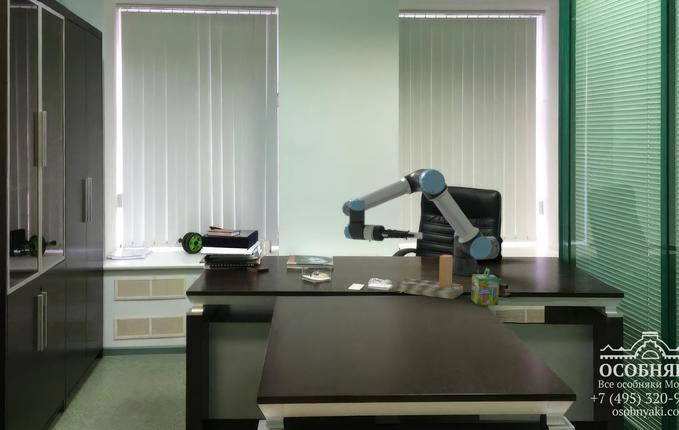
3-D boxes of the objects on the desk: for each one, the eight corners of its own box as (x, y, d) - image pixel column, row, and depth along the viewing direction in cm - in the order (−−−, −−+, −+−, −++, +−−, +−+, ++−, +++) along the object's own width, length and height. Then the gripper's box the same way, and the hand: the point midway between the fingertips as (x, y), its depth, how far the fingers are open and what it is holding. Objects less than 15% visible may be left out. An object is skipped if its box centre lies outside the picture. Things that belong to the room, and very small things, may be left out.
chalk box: (470, 300, 250) (471, 266, 249) (491, 300, 251) (492, 266, 250) (477, 305, 241) (478, 270, 240) (498, 305, 242) (500, 270, 240)
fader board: (394, 291, 266) (394, 282, 266) (405, 286, 278) (405, 277, 277) (453, 299, 253) (453, 289, 252) (462, 293, 264) (462, 283, 264)
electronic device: (505, 298, 255) (505, 281, 254) (486, 294, 262) (486, 278, 261) (510, 296, 258) (510, 279, 257) (491, 292, 265) (491, 276, 264)
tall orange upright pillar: (439, 287, 259) (439, 256, 258) (443, 284, 264) (444, 254, 263) (447, 288, 257) (448, 257, 256) (451, 285, 263) (452, 255, 261)
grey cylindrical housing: (449, 260, 348) (449, 235, 346) (487, 257, 359) (488, 233, 358) (464, 265, 334) (465, 239, 332) (503, 261, 346) (504, 236, 344)
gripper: (381, 238, 282) (426, 242, 270) (369, 242, 271) (416, 245, 259) (381, 223, 281) (427, 226, 269) (369, 226, 270) (416, 229, 258)
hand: (421, 235), depth 264 cm, fingers closed
